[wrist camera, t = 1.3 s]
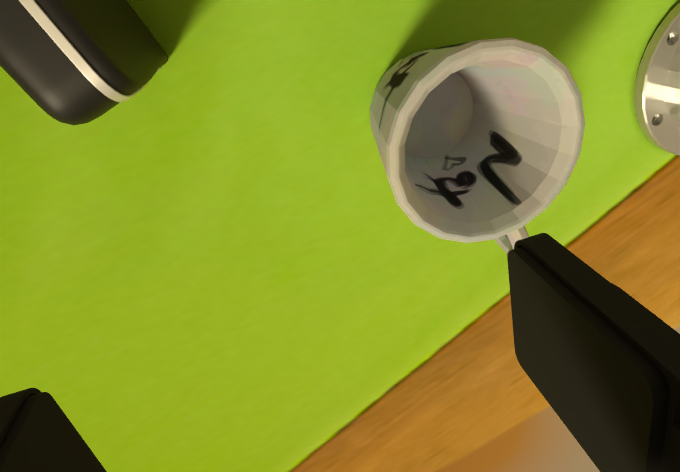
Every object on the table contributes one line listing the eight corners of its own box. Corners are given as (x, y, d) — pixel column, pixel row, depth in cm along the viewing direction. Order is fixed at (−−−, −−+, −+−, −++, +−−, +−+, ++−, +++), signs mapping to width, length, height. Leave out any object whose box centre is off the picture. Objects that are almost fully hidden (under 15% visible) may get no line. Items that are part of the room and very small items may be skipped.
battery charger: (29, -14, 26) (-107, -22, 16) (85, -56, 26) (-17, -91, 15) (123, 97, 29) (60, 150, 19) (174, 61, 29) (137, 96, 19)
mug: (460, -9, 30) (551, -11, 21) (536, 180, 37) (628, 238, 28) (318, 84, 31) (348, 119, 22) (418, 252, 38) (471, 329, 29)
